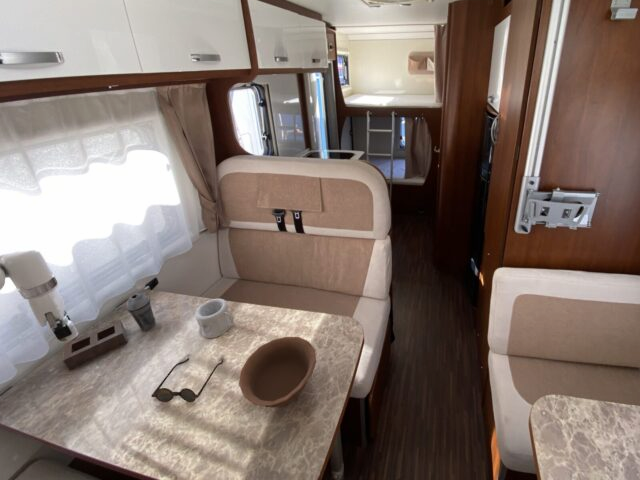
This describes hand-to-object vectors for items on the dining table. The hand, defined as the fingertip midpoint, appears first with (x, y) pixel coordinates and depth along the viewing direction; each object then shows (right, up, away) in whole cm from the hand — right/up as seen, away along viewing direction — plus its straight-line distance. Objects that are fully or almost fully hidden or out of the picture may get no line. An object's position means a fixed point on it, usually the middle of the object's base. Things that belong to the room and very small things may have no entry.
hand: (65, 331), depth 97 cm
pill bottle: (0, -3, +1) cm, 3 cm away
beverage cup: (+9, -9, +23) cm, 26 cm away
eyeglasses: (+40, -16, +1) cm, 44 cm away
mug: (+39, -8, +21) cm, 45 cm away
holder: (-2, -13, +14) cm, 19 cm away
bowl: (+72, -17, -3) cm, 74 cm away
